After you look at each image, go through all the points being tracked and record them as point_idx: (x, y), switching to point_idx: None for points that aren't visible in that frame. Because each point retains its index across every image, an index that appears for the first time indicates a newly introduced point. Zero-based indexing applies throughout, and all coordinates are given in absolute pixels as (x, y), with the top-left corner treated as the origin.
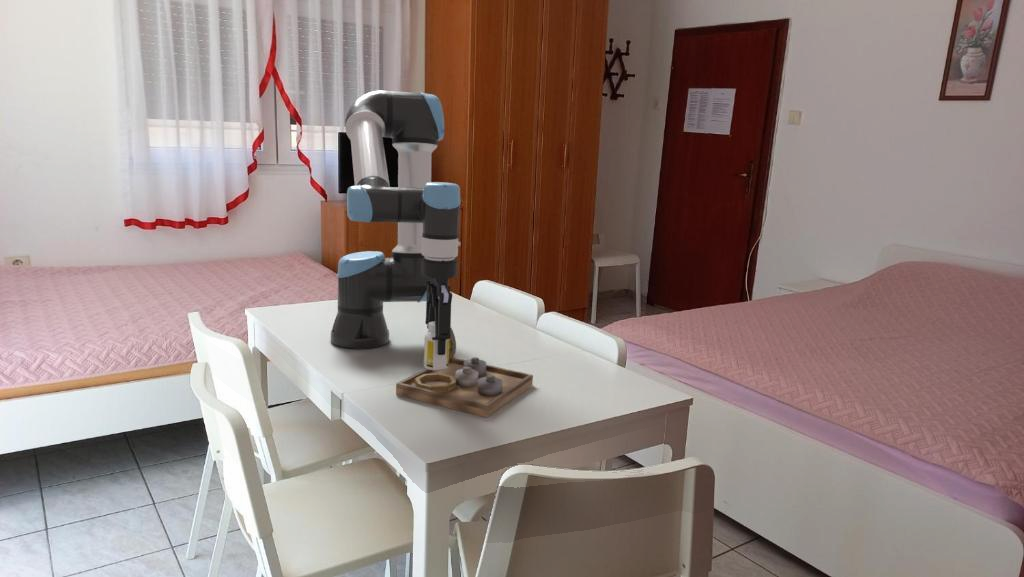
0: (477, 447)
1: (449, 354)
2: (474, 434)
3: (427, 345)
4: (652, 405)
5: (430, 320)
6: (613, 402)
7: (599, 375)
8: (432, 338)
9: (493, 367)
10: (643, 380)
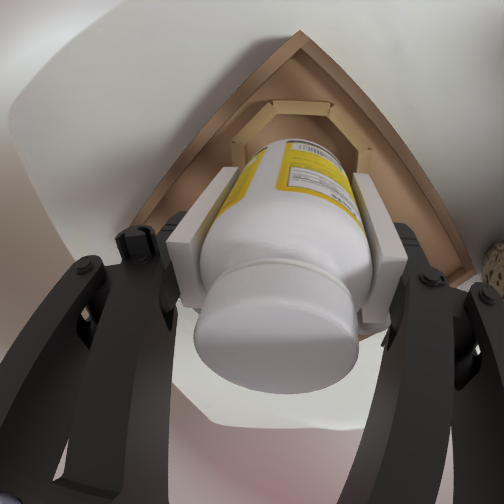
0: (36, 187)
1: (483, 276)
2: (67, 191)
3: (249, 184)
4: (195, 404)
5: (404, 336)
6: (204, 389)
7: (303, 414)
8: (137, 230)
9: (359, 335)
10: (272, 427)
